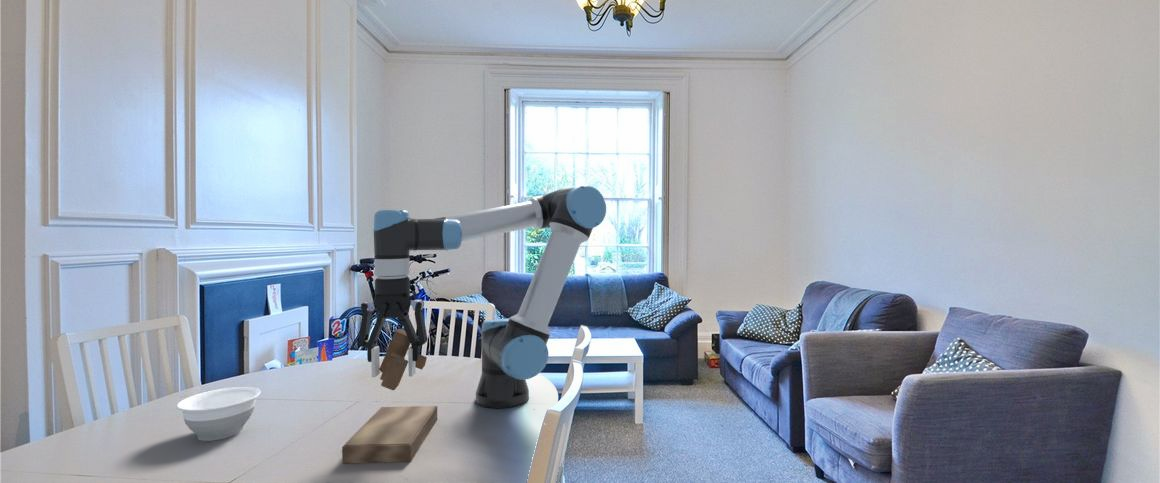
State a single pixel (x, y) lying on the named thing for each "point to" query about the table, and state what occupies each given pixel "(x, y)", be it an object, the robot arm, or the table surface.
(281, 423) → the table surface
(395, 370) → the wooden block set
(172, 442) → the table surface
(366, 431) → the plinth
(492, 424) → the table surface
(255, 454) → the table surface
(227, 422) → the bowl
